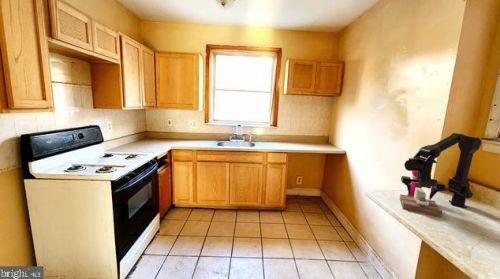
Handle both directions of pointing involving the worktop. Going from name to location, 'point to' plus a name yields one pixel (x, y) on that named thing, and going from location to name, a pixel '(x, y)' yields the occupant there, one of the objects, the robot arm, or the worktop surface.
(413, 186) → the pepper mill
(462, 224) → the worktop surface
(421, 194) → the light grey piece
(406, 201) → the brown open rectangular box
